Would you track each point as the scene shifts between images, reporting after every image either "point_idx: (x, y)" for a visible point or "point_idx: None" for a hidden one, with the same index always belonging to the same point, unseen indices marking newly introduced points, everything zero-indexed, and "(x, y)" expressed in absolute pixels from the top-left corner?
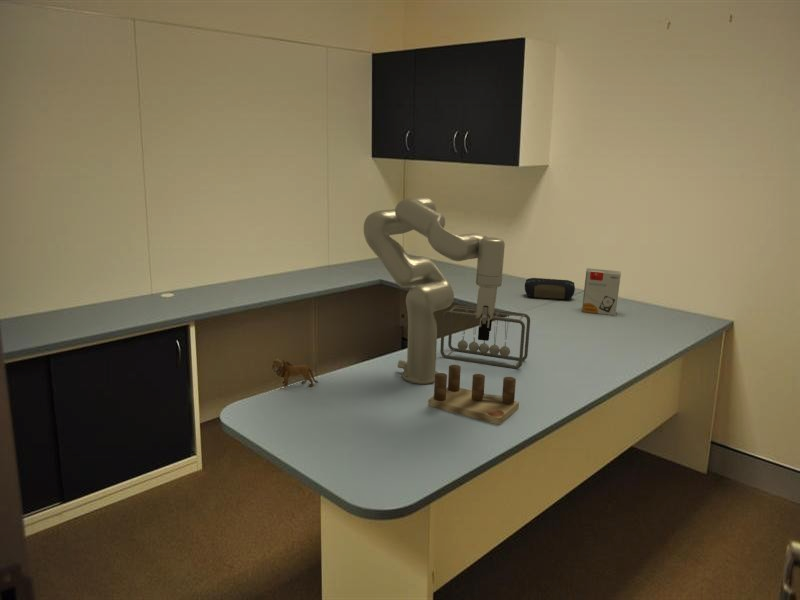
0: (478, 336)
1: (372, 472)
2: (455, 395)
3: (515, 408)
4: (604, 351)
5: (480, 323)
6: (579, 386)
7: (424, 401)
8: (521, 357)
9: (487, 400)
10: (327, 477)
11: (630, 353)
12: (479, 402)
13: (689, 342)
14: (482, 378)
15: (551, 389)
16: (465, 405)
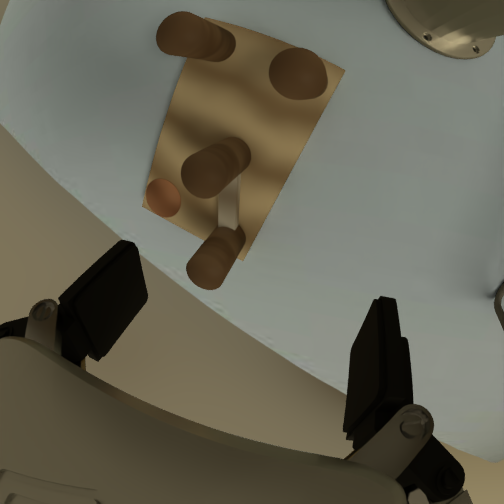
0: (110, 252)
1: (11, 52)
2: (254, 86)
3: None
4: (496, 408)
5: (29, 325)
6: None
7: (243, 6)
8: (500, 321)
9: None
10: (5, 20)
11: (475, 426)
12: None
13: (472, 453)
14: (187, 188)
15: None
16: (186, 121)
